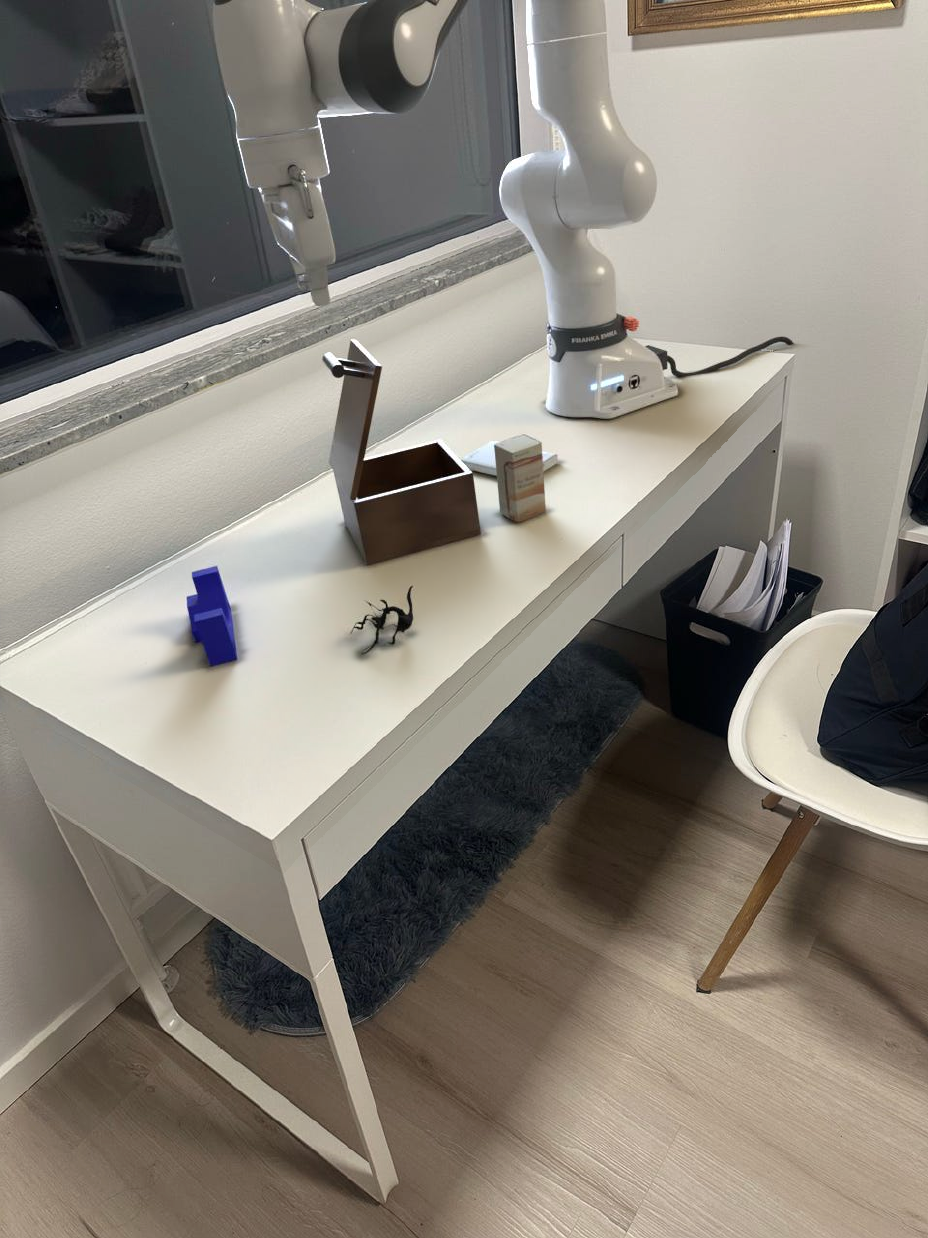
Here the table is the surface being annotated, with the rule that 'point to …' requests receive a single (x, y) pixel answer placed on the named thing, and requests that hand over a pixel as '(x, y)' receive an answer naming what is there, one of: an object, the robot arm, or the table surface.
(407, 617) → the creature
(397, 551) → the chest
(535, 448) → the small cardboard box
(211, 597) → the cable clip
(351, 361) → the lid
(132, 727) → the table surface
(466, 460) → the hard drive
